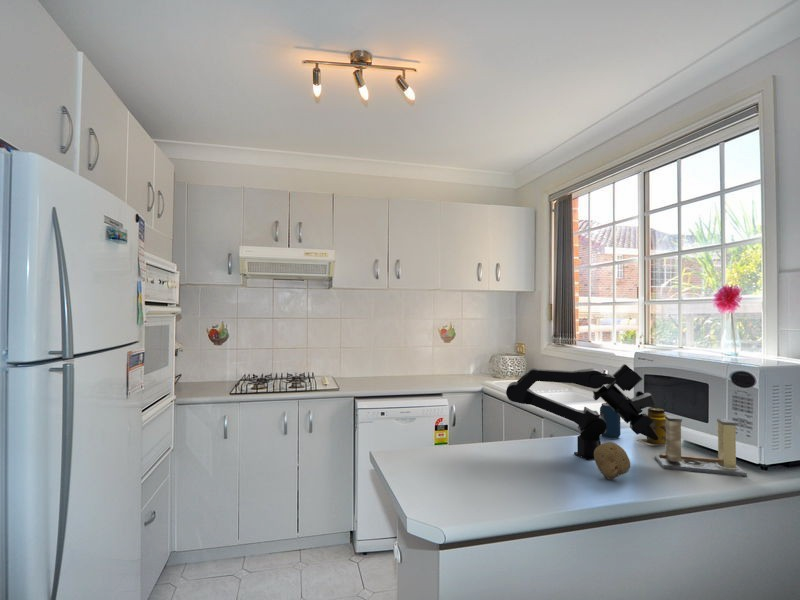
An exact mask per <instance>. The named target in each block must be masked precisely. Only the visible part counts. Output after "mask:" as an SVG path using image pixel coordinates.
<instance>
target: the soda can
mask: <svg viewBox="0 0 800 600" xmlns="http://www.w3.org/2000/svg"><path fill="white" fill-rule="evenodd" d="M599 415H601V417H602V418H603V419H604V421H605V423H606V426H607V427H606V431H605V432H604V433H603V434H601V435H600V436H601V437H602V436H603V437H602V438H605V439H609V440H610V439H611V440H616V439H618V440H619V438H620V437H621V432H622V431H621V417H620V416H619V415H618V414H617V413H616V412H615V411H614V410H613V409H612V408H611V407H610V406H609V405H608V404H607V403H606V402H604V403H603V402H602V403H601V406H600V407H599Z"/></svg>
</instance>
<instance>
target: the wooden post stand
mask: <svg viewBox="0 0 800 600" xmlns="http://www.w3.org/2000/svg"><path fill="white" fill-rule="evenodd" d="M716 422H717V441H718V442H717V449H718V451H717V454H718V455H717V458H712V457H701V456H690V455H689V456H688V455H681V462H676V461H670V460H669V459H668V458H667V457H666V453H658V454H654V455H653V456H654V459H655V461H656V462H657V463H658V464H659V465H660V466H661V467H662V469H666V470H667V469H668V470H679V471H685V472H698V473H707V472H708V473H707V474H719V475H720V474H721V475H727V474H729V476H737V475H740V476H739V477H748V474H747V473H748V472H746V471H745V470H744V469H742V468H741V467H740V466H738V465H737V451H736V449H737V448H736V445H737V444H736V437H737V436H736V435H737V433H736V426H738V424H737V422H735V421H733V420H732V419H727V418H716Z"/></svg>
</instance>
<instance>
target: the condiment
mask: <svg viewBox="0 0 800 600" xmlns="http://www.w3.org/2000/svg"><path fill="white" fill-rule="evenodd" d="M647 408H648V409H647V415H648V416H649V417H650V418H651V419H652V420H653V423H651V424H650V427H651V428H652V429H653V431H654V432H655V434H656V435H657V437H658V438H659V439H658V440H654V439H651V438H649V437H647V436H646V438H643V439H641V438H636V440H637V441H639V442H641V443H643V444H644V445H648V446H666V418H665V415H666V413H665V412H666V411H665V409H663V408H659V407H647Z"/></svg>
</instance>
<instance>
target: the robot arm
mask: <svg viewBox="0 0 800 600" xmlns="http://www.w3.org/2000/svg"><path fill="white" fill-rule="evenodd" d="M643 380H644V379H643V377H641V375H639V374H638V373H637V372H636V371H634V370H633V369H632V368H630V367H629V366H628V365H627V364H626V363H623V364H622V365H621V366H620V367H619V369H618V370H616V372H614V373H613V374H610V373H603V372H601V371H600V370H599V369H597V368H584V369H579V370H560V369H559V370H557V369H556V370H555V369H540V368H539V369H538V368H534V367H532V368H530V369H529V370H528V372H526V373H525V374H524V375H523V376H522V377H520V378H519V379H518V380H517V381H512V382H510V383H509V384H508V385H507V386H506V390H505V394H506V398H507V399H508V400H509V401H511V402H512V403H513V402H514V403H516V404H517V403H518V404H521V405H522V404H523V405H529V406H534V407H536V408H538V409H541V410H544V411H546V412H549V413H551V414H553V415H555V416H559V417H561V418H562V419H565V420H567V421H571V422H573V423H574V424H576V425H578V426H577V429H578V431H579V432H578V433H579V435H577V437H576V438H577V441H576V443H577V445H576V446H577V451H574V453H573V454H574V455H576V456H578V457H580V458H583V459H585V460H588V461H590V460H595V459H594V451H595V449H596V448H597V447H598V446H599V445H600V444H602V441H601V436H602V435H601V434H603V433H604V432H605V431H606V427H607V426H606V423H605V421H604V419H603V418H602V417H601V415H600V413H599V412H598V411H597V410H592V409H590V408H588V407H586V406H584V407H583V409H576V408H573V407H571V406H568V405H566V404H563V403H561V402H559V401H556V400H553V399H551V398H548V397H546V396H543V395H541V394H538V393H536V392H534V391H533V390H532V389H530V388H531V387H533V385H534V384H535V383H536V382H546V383H559V384H560V383H563V384H574V385H578V386H581V387H584V388H585V387H586V388H590V389H595V390H592V393H593V395H592V396H593V397H592V398H593V400H594V401H597V400H599V399H602V400H603V401H604V403H607V404H608V405H609V406H610V407H611V408H612V409H613V410H614V411H615V412H616V413H617V414H618V415H619V416H620V419H621V420H623V421H624V423H626V424H629V428H630V429H631V430H632V431H633V432H634V433H635V435H640V434H641V435H642V436H645V437H646V438H647V437H649V438H651V439H654V440H658V439H659V438H658V437H657V435H656V434H655V432H654V431H653V429H652V428H651V427H650V424H651V423H653V420H652V419H651V418H650V417H649V416H648V414H646V413H642V412H643V410H642V409H645V408H646V409H647V408H650V407H653V406H655V405H656V404H657V403H656V401H655V399H654V397H653V395H652V394H651V393H649V392H644V393H643V392H642V391H641V390H637V391H635V395H634V396H633V397H632V398H629V396H626V395H625V394H624V393H623V392H625V391H626V392H627V391H628V392H630V391H632V390H633V389H634V388H635V387H636V386H637V385H638V384H639V383H640V382H642V381H643ZM617 386H618V387H619V388H618V387H617ZM620 389H621V390H622V391H623V392H622V391H621V390H620Z"/></svg>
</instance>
